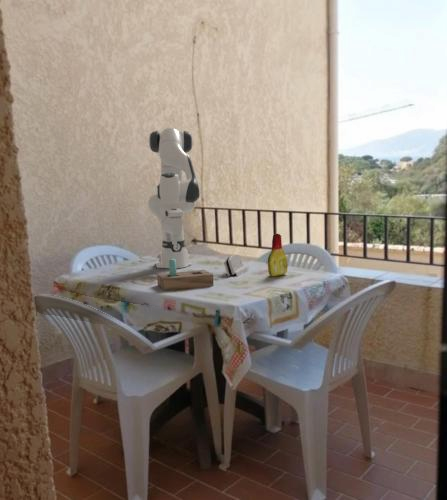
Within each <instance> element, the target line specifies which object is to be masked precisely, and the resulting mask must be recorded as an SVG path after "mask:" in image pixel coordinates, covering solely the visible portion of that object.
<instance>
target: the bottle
mask: <svg viewBox="0 0 447 500" xmlns="http://www.w3.org/2000/svg"><path fill="white" fill-rule="evenodd" d="M288 269H289V268H288V257H287V254H286V252H285V251H284V249H283V245H282V235H281V234H280V233H275V234H273V235H272V240H271V251H270V253H269V255H268V258H267V270H268V275H269V276H270V277H277V276H282V275H283V276H284V275H286V274H287V273H288Z"/></svg>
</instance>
